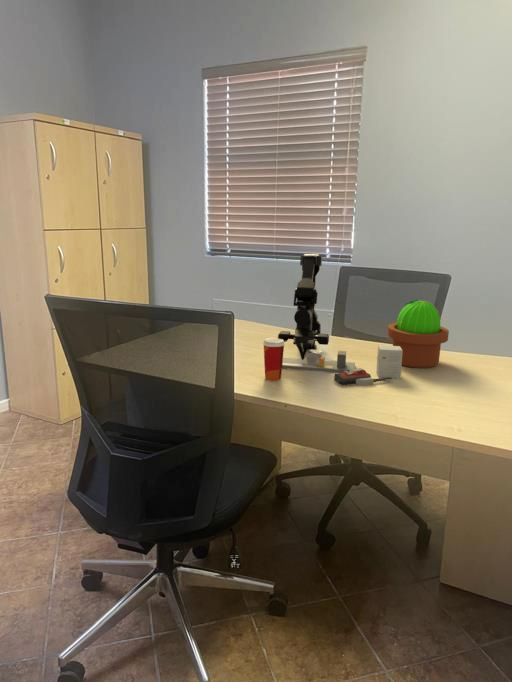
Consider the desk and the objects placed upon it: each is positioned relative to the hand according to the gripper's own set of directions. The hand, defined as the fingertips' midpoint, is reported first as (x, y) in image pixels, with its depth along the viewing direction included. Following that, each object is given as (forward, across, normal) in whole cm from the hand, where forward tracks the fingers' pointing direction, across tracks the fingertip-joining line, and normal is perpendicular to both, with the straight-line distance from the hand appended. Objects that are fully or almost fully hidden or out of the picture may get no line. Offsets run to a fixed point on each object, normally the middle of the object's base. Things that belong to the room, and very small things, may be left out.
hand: (302, 359), depth 198 cm
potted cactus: (+2, +42, +16) cm, 46 cm away
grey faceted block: (+1, +4, -1) cm, 5 cm away
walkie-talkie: (+3, +22, -12) cm, 26 cm away
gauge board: (+2, +5, 0) cm, 5 cm away
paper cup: (+3, -8, -17) cm, 19 cm away
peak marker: (+1, +7, -4) cm, 8 cm away
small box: (+2, +32, -4) cm, 32 cm away
